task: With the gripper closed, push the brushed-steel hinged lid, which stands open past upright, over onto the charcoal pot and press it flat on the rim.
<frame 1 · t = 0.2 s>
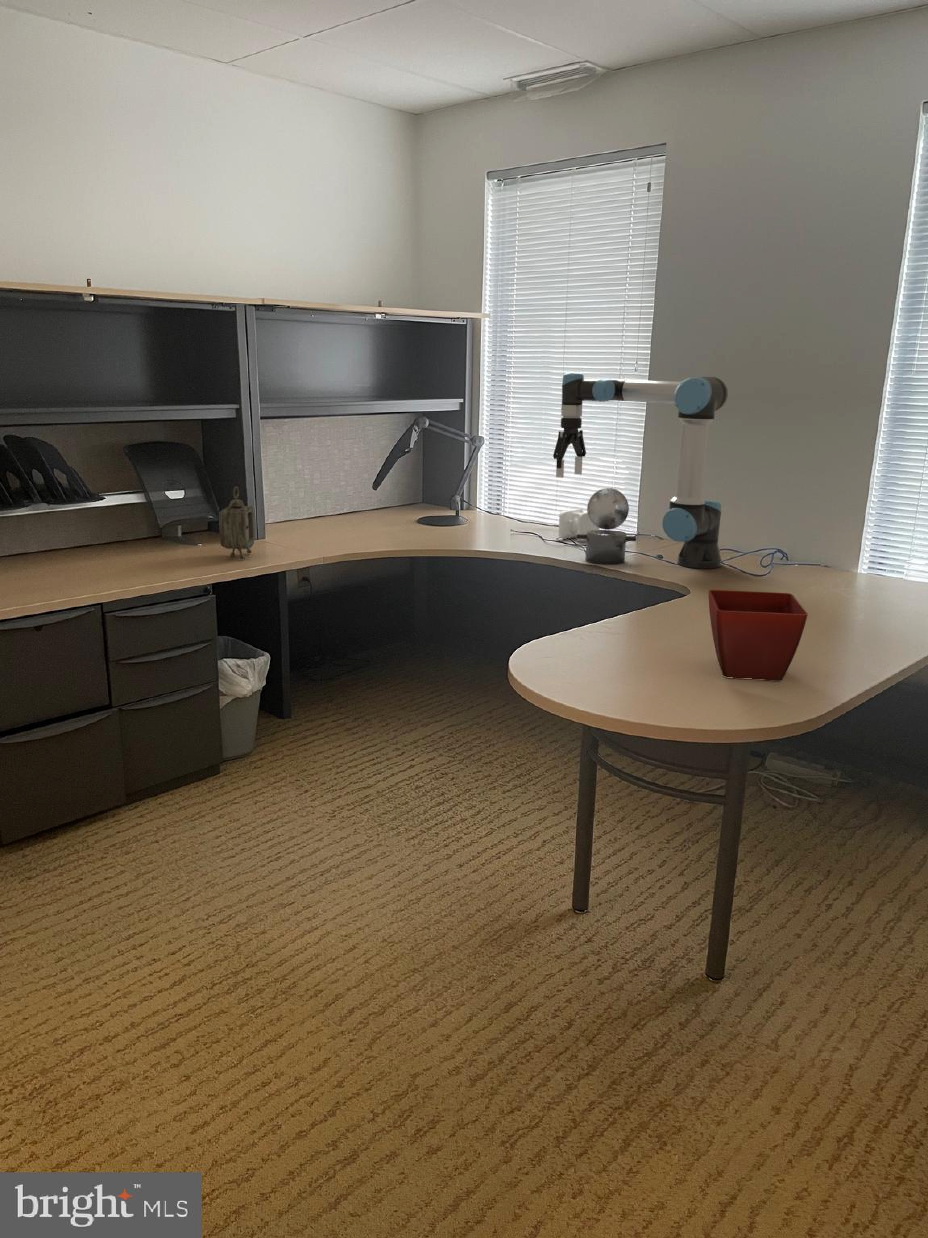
hand: (569, 475, 333), 28 cm above the table, tool pointing down, fingers open, 13 cm apart
cable organizer: (578, 539, 365), on the table
pot: (604, 560, 324), on the table
plant pot: (748, 672, 207), on the table
lid: (607, 509, 329), point 17 cm above the table, hinge at 105.0°
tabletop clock: (238, 557, 319), on the table
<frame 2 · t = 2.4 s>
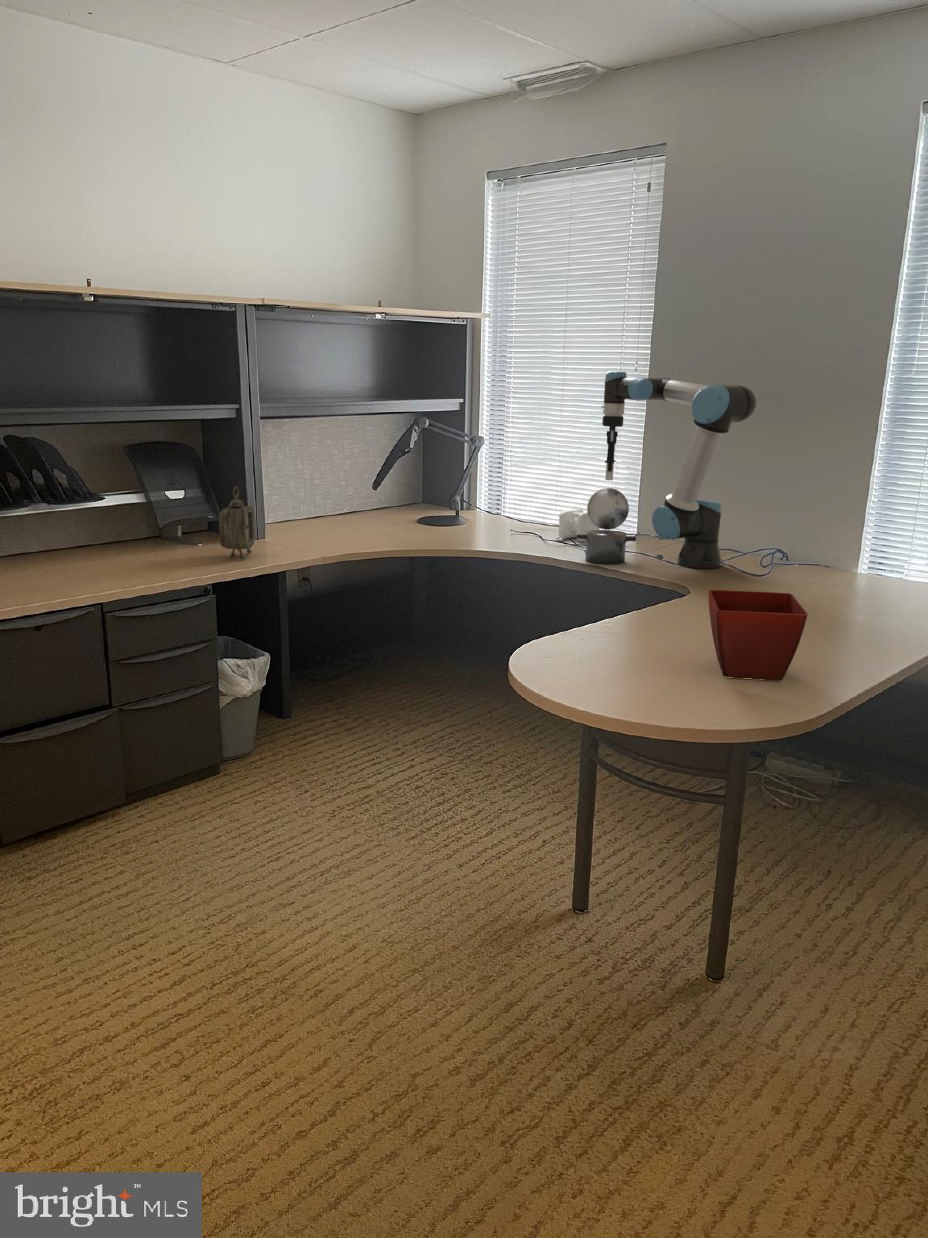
hand: (609, 479, 334), 27 cm above the table, tool pointing down, fingers closed
nothing on the table moved.
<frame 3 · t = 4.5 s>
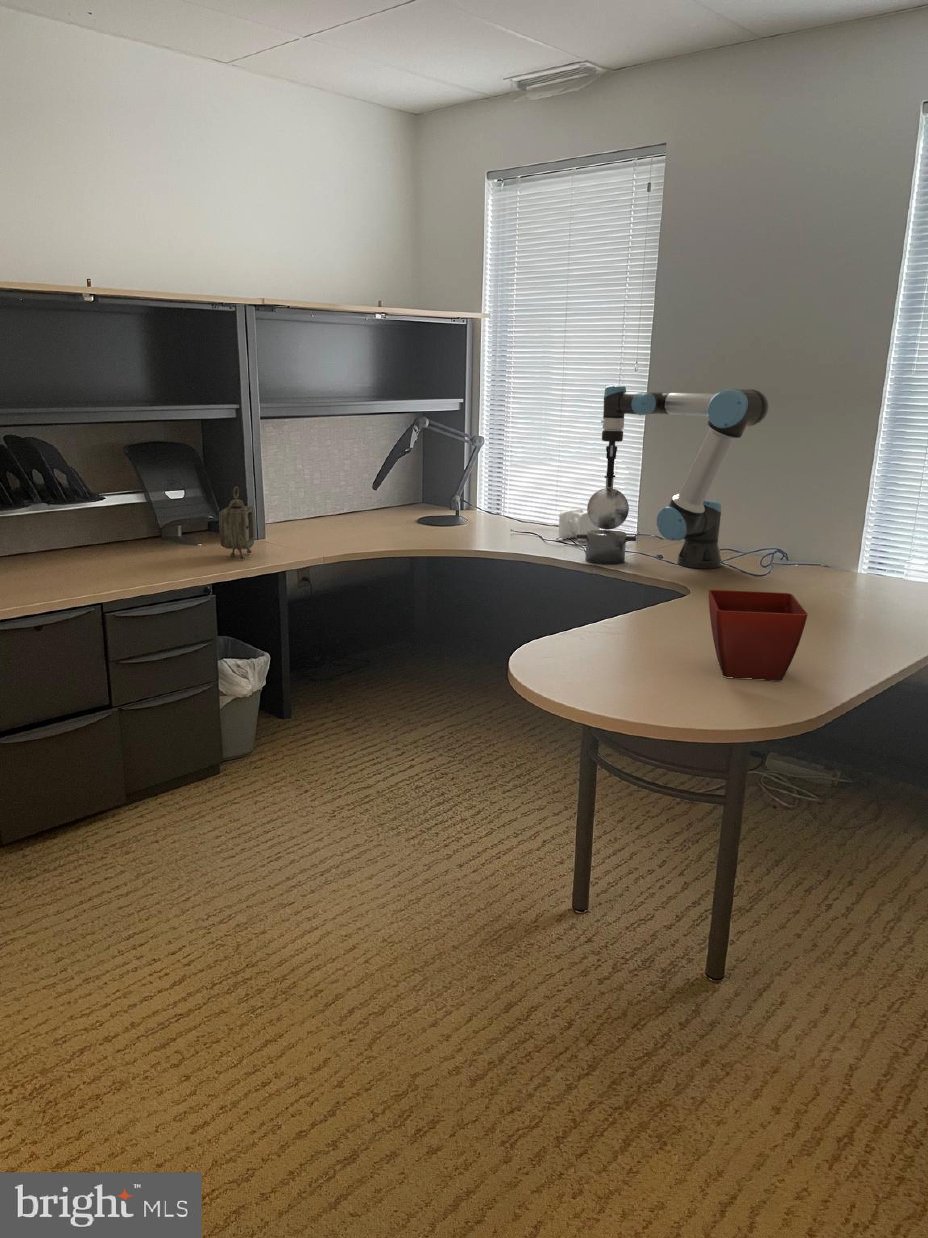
hand: (608, 495, 330), 22 cm above the table, tool pointing down, fingers closed
lid: (607, 509, 329), point 17 cm above the table, hinge at 104.7°, touching gripper
everything else where it was.
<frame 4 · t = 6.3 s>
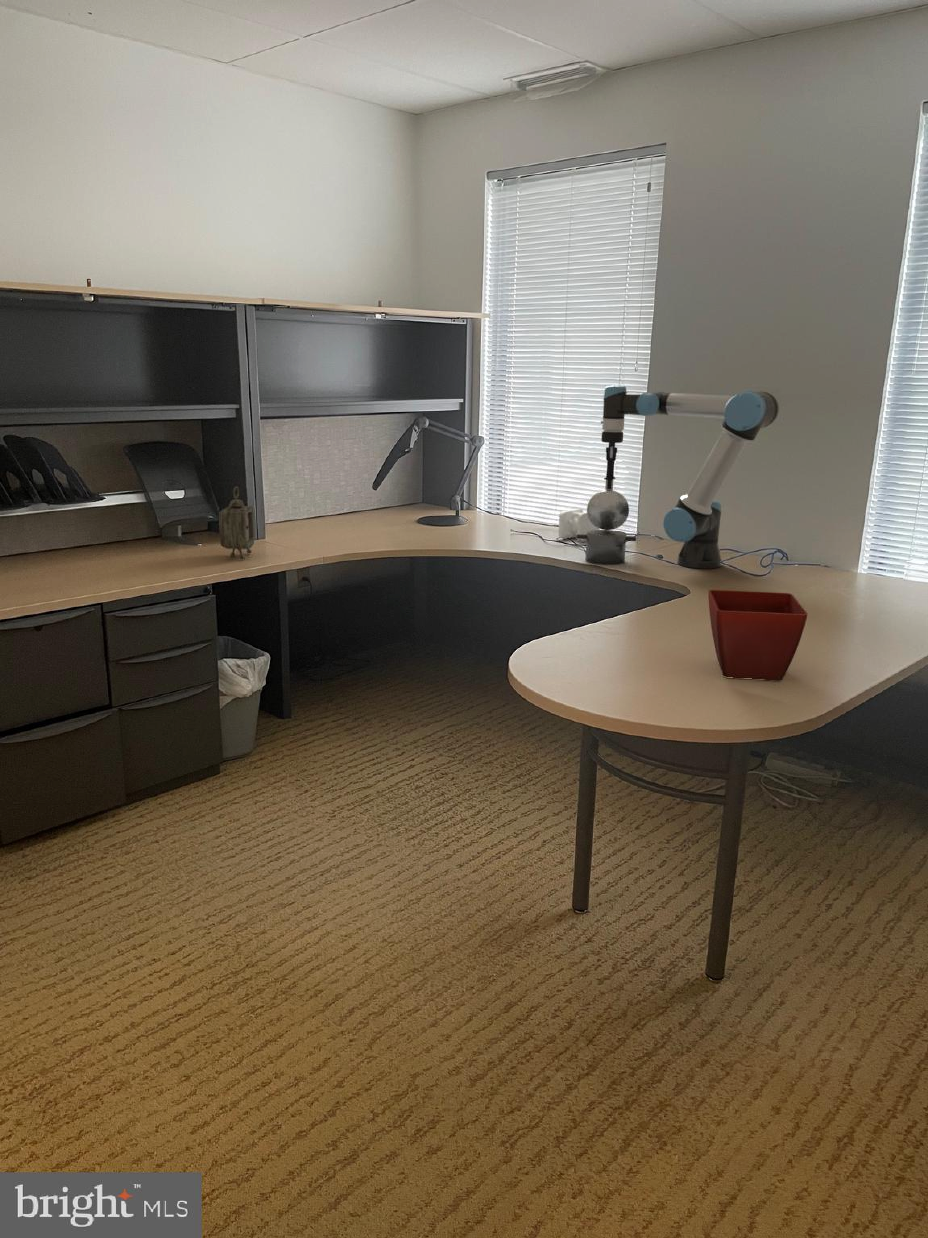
hand: (608, 497, 324), 22 cm above the table, tool pointing down, fingers closed
lid: (607, 509, 325), point 18 cm above the table, hinge at 76.5°, touching gripper
everything else where it was.
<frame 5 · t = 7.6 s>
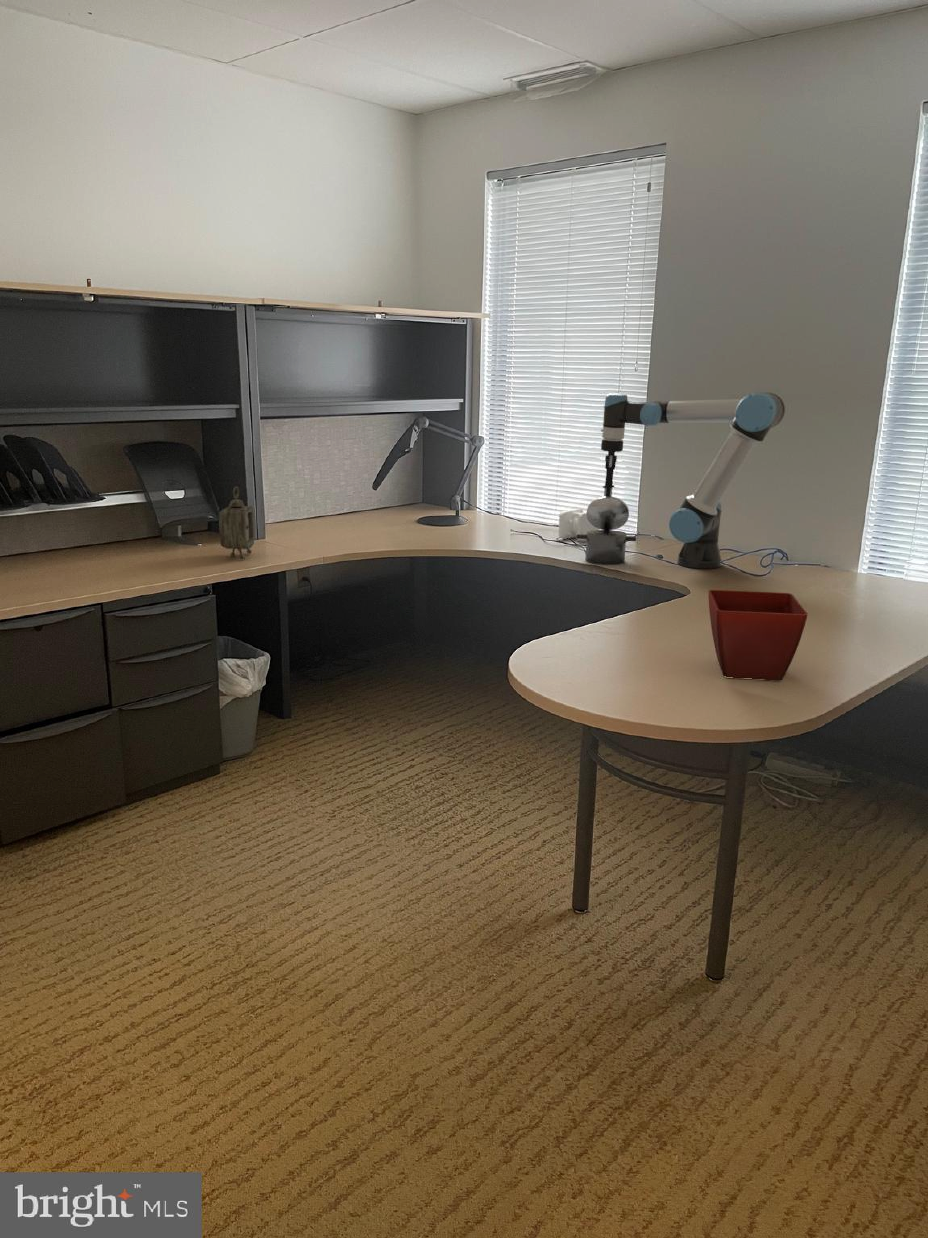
hand: (606, 505, 322), 19 cm above the table, tool pointing down, fingers closed
lid: (607, 511, 323), point 17 cm above the table, hinge at 57.5°, touching gripper, pot
everything else where it was.
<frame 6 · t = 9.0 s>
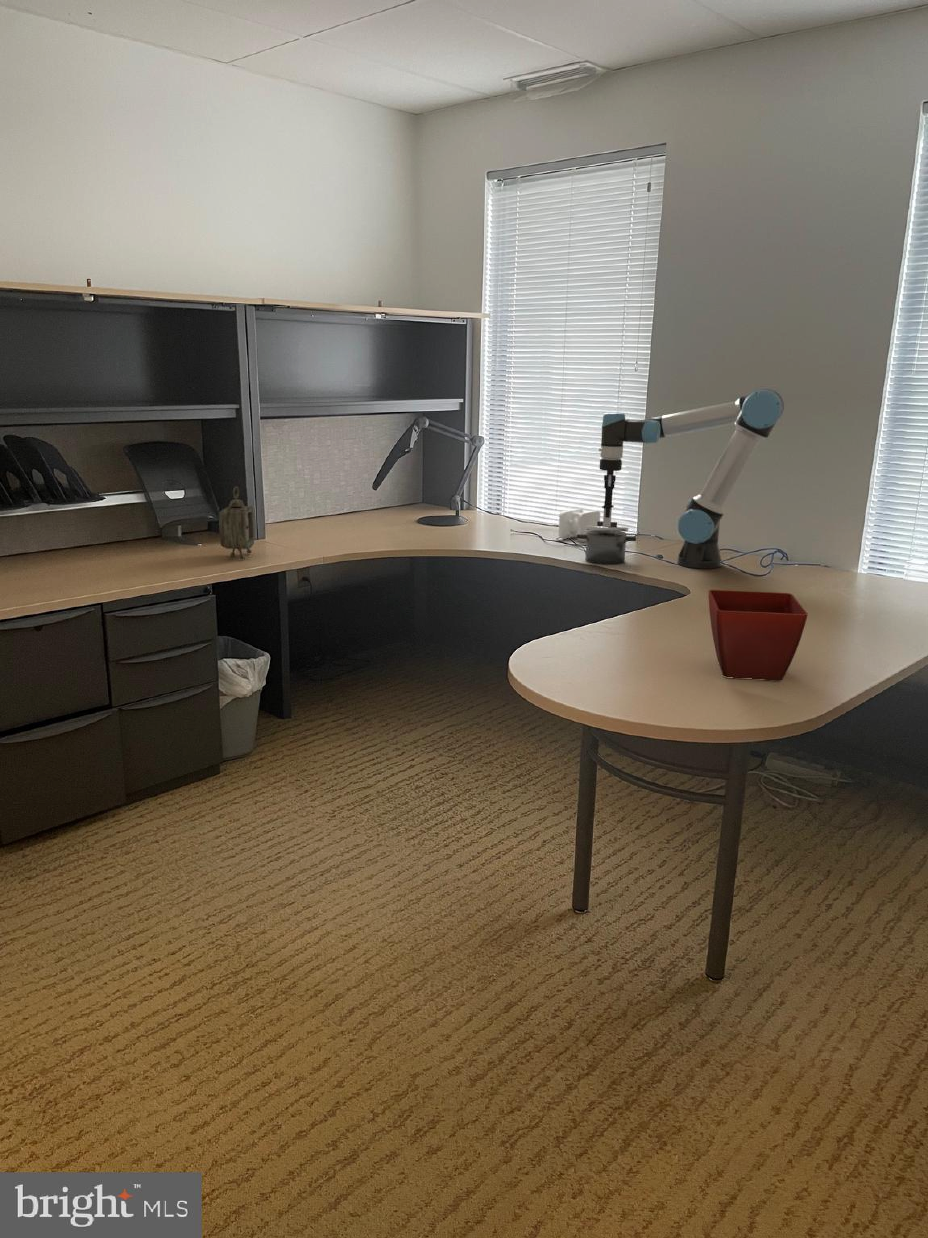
hand: (606, 526, 317), 13 cm above the table, tool pointing down, fingers closed
lid: (606, 526, 321), point 13 cm above the table, hinge at 8.2°, touching gripper
everything else where it was.
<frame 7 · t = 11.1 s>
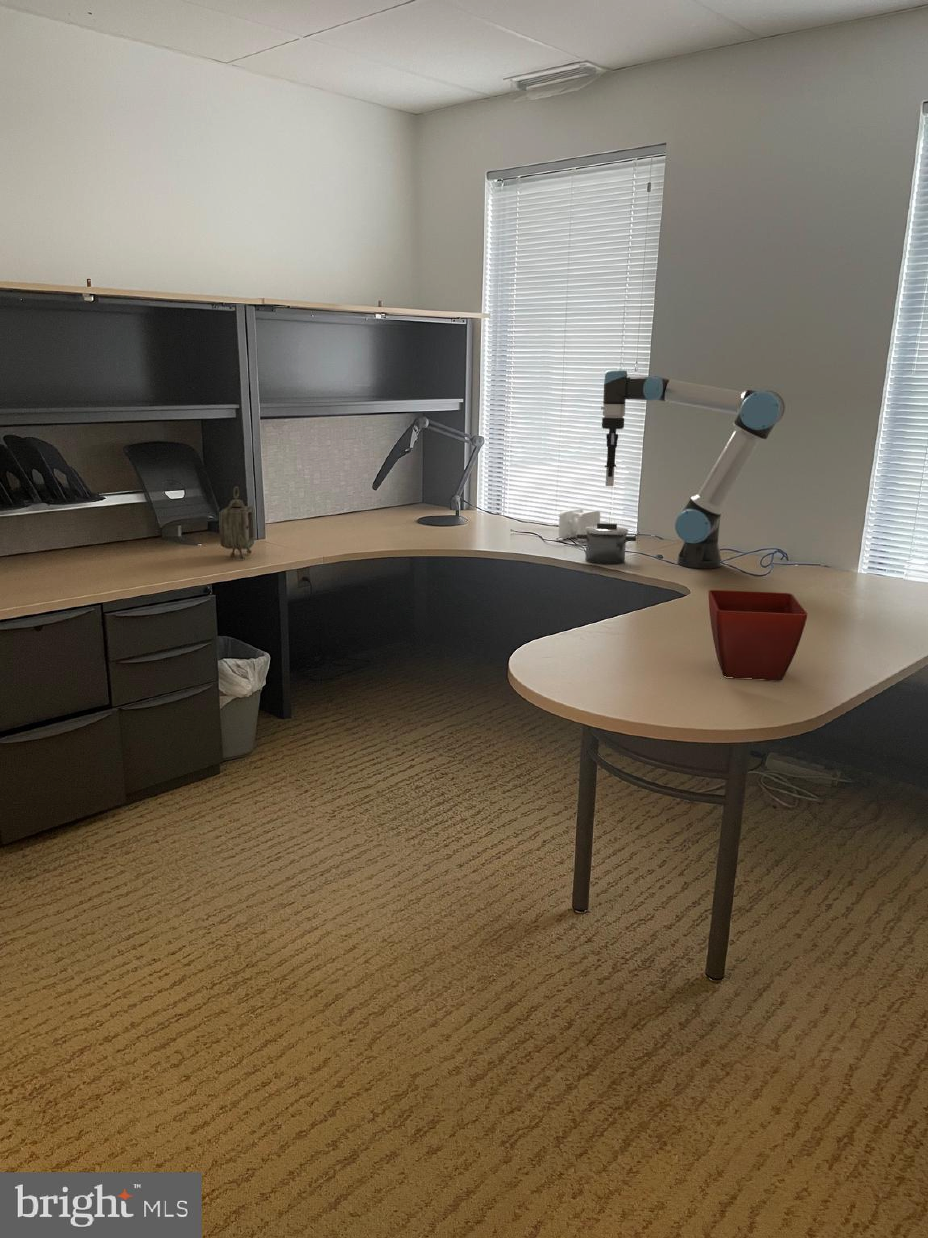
hand: (609, 485, 314), 27 cm above the table, tool pointing down, fingers closed
lid: (606, 528, 321), point 12 cm above the table, hinge at 2.5°
everything else where it was.
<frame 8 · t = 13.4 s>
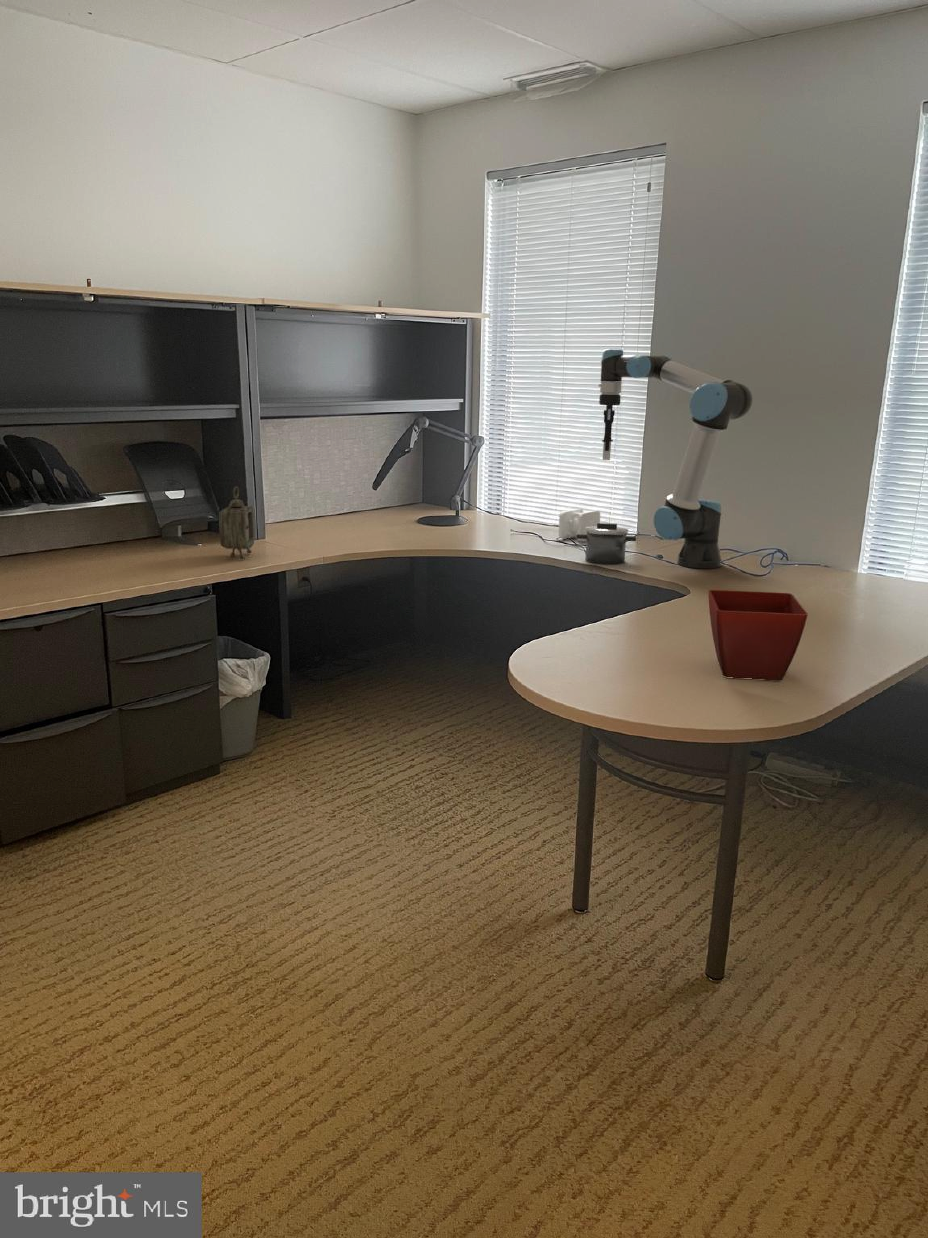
hand: (606, 459, 331), 34 cm above the table, tool pointing down, fingers closed
nothing on the table moved.
at the end: lid at +2° (first picture: +105°) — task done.
